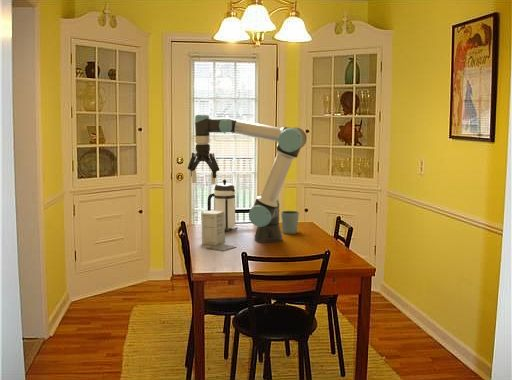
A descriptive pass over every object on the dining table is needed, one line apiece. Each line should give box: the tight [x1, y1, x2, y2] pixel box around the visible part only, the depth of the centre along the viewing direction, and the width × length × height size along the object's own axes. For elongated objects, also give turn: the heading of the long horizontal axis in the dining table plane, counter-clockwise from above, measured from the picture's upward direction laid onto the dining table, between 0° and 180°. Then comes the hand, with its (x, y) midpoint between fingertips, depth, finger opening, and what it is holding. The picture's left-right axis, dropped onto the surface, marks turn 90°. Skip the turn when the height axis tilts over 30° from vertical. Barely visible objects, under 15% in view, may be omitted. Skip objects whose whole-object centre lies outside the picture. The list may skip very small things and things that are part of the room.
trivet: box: [206, 243, 237, 252], centre depth 306 cm, size 11×11×1 cm
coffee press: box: [207, 179, 238, 232], centre depth 352 cm, size 17×16×30 cm
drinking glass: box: [280, 210, 300, 235], centre depth 344 cm, size 10×10×12 cm
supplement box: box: [200, 210, 226, 246], centre depth 317 cm, size 10×9×17 cm
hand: (203, 183), depth 316 cm, fingers open, 13 cm apart
